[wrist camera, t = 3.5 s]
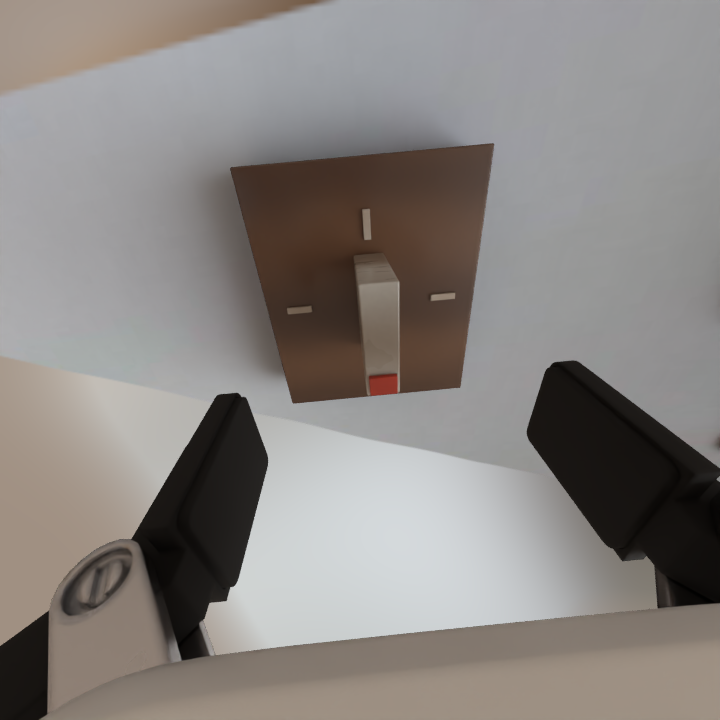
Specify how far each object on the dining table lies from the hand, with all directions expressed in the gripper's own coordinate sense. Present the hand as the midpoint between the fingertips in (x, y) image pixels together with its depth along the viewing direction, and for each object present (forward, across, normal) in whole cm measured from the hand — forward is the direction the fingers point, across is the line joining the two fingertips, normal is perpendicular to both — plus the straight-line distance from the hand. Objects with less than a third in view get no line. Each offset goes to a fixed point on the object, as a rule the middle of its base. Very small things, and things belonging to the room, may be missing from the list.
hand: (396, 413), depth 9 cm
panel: (+12, 0, 0) cm, 12 cm away
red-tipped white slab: (+9, 0, 0) cm, 9 cm away
